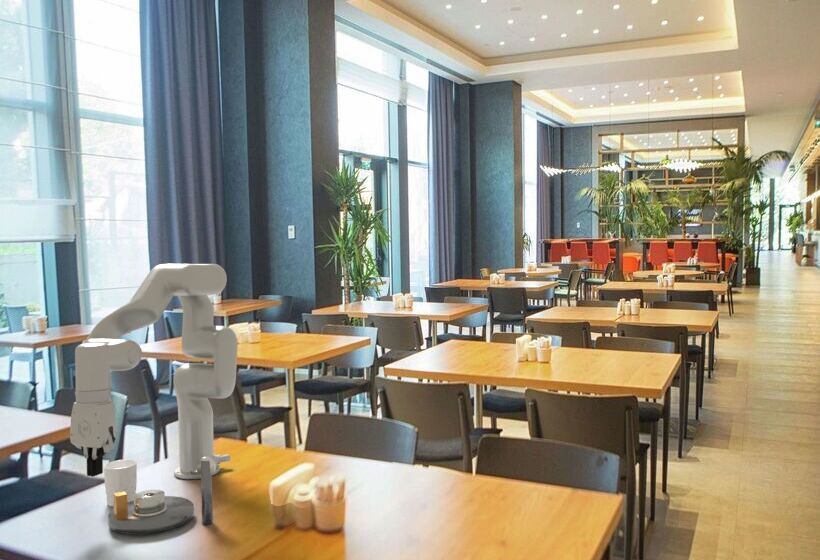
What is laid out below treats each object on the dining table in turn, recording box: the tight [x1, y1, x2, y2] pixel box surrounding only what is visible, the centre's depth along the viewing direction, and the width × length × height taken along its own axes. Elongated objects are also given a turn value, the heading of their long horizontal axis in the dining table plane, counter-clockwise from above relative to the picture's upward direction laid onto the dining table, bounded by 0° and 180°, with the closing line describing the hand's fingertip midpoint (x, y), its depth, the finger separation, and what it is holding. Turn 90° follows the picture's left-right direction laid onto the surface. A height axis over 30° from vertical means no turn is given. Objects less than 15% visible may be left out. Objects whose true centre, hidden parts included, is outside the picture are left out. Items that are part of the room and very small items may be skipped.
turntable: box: [107, 491, 195, 535], centre depth 169 cm, size 19×19×7 cm
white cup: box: [103, 459, 138, 508], centre depth 182 cm, size 8×8×10 cm
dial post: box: [190, 457, 216, 526], centre depth 168 cm, size 6×2×16 cm, turn 86°
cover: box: [132, 489, 167, 517], centre depth 168 cm, size 8×8×4 cm
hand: (94, 474), depth 166 cm, fingers closed
